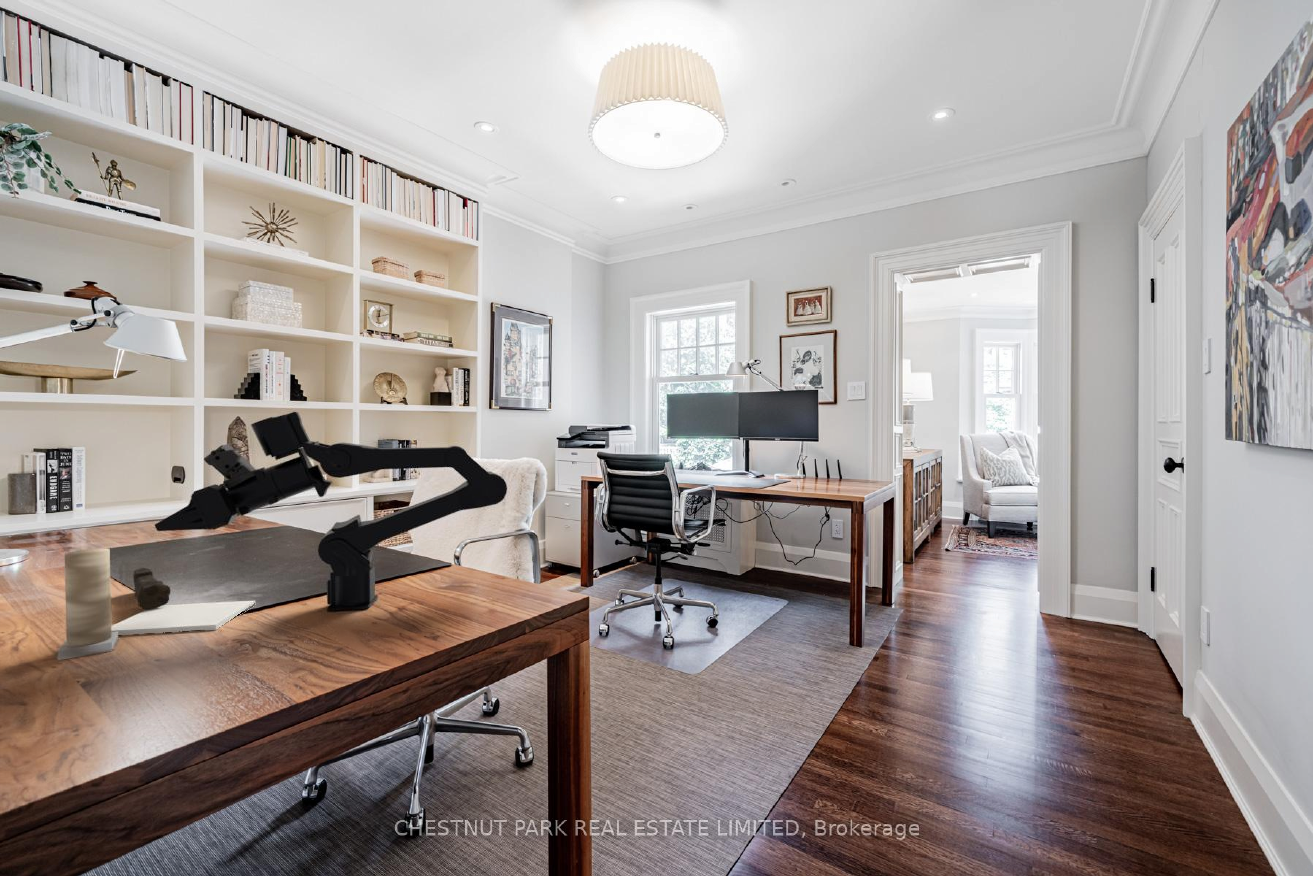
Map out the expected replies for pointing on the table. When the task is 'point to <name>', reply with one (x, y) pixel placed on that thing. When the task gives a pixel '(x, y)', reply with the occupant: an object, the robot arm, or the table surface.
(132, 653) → the table surface
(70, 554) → the beige pillar on pedestal
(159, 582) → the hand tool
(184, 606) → the mat
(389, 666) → the table surface
